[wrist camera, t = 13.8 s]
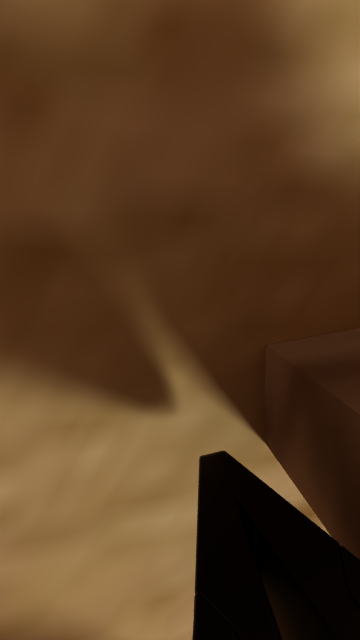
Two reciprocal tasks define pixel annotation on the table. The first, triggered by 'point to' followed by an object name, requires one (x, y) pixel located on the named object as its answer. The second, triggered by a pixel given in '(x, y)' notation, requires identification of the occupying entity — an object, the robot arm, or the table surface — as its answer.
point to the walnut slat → (319, 425)
